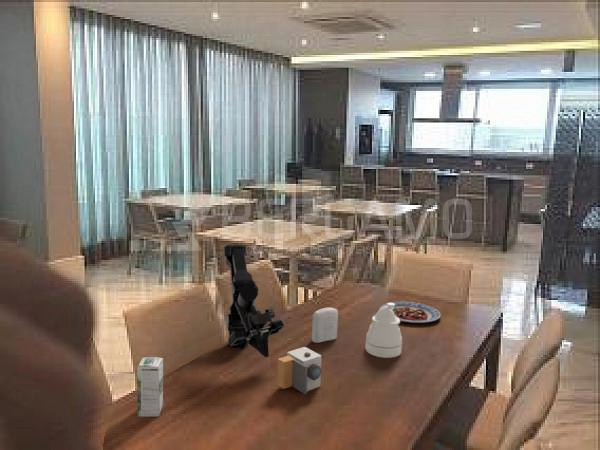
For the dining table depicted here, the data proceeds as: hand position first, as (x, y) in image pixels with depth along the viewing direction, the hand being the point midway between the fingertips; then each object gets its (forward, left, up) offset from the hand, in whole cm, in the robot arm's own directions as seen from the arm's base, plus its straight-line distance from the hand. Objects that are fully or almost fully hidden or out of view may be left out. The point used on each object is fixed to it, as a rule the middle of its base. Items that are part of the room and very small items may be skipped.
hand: (267, 356), depth 158 cm
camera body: (+12, -3, -6) cm, 14 cm away
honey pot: (+36, +29, -7) cm, 47 cm away
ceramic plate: (+47, +69, -7) cm, 84 cm away
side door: (+10, -9, -5) cm, 14 cm away
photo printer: (+14, +33, -7) cm, 37 cm away
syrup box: (-26, -28, -7) cm, 38 cm away
